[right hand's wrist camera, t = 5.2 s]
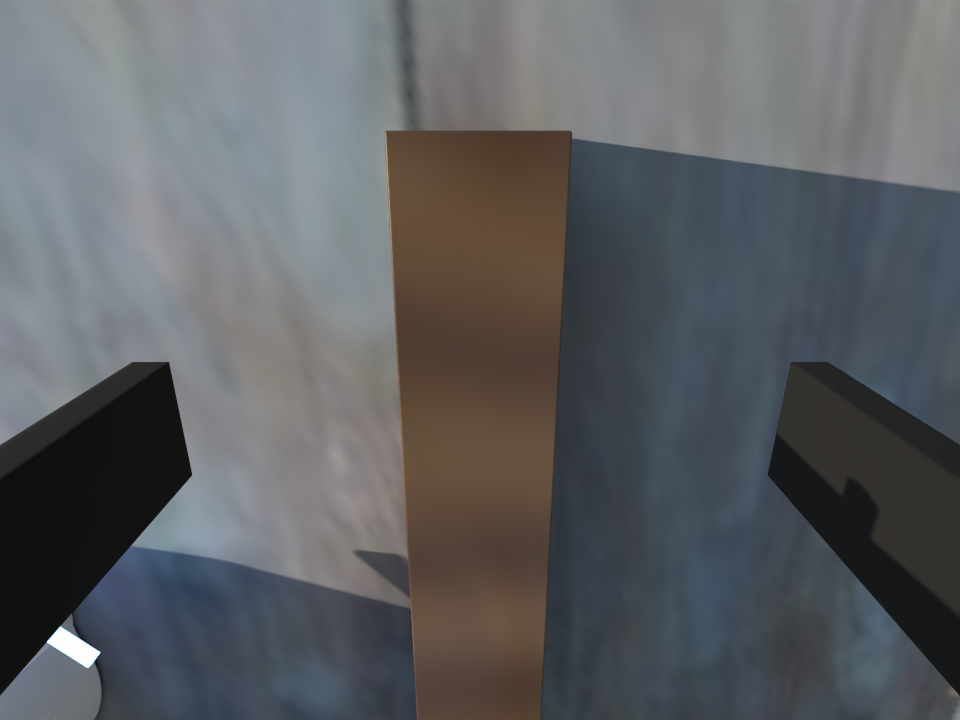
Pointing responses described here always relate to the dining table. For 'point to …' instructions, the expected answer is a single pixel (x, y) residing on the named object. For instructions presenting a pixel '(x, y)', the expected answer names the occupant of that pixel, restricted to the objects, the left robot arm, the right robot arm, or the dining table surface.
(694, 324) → the dining table surface
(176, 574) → the dining table surface
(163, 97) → the dining table surface
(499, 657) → the bar
